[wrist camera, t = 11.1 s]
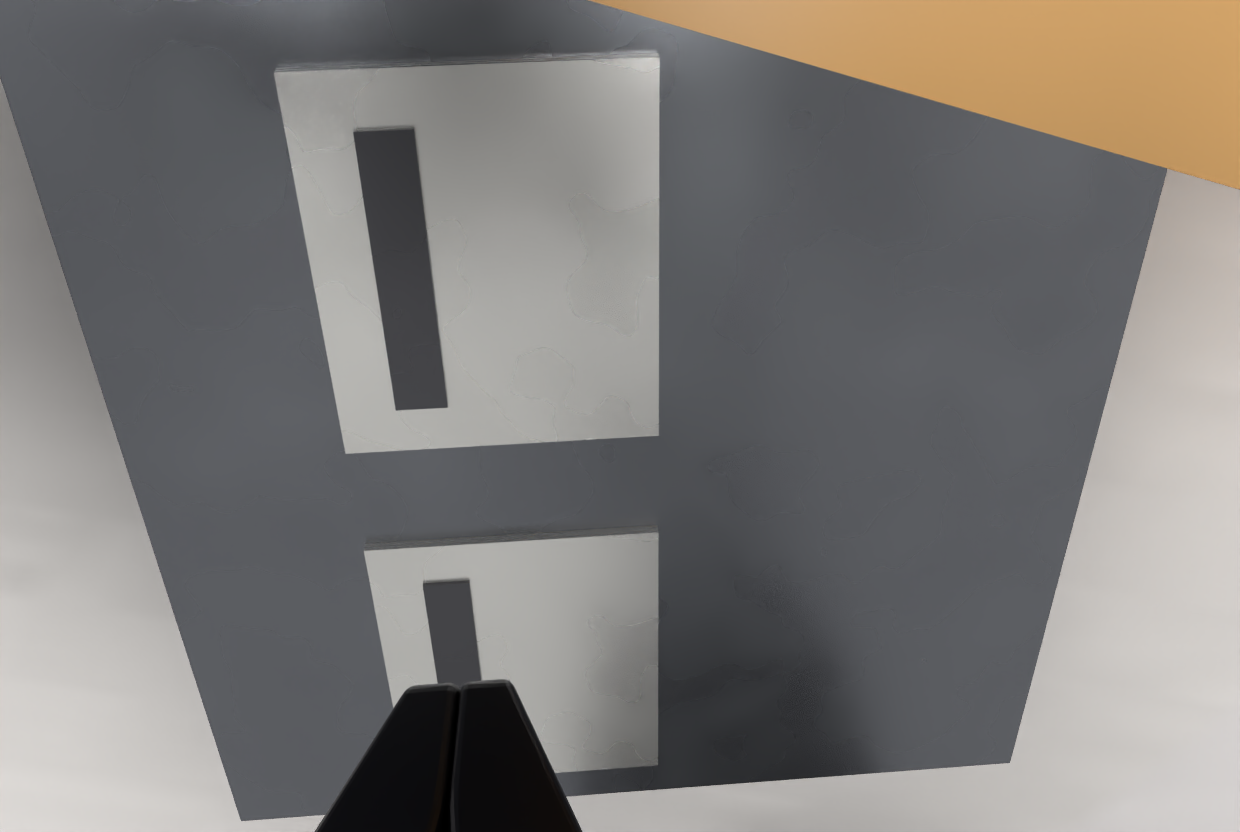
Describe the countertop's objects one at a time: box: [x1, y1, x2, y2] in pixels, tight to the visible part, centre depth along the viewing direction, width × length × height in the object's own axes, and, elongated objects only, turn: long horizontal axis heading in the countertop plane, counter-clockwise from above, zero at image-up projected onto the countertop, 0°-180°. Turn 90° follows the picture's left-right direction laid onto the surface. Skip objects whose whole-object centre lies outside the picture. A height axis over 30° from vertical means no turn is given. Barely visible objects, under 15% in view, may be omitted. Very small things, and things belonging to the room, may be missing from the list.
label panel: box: [0, 0, 1167, 821], centre depth 17 cm, size 22×16×2 cm
